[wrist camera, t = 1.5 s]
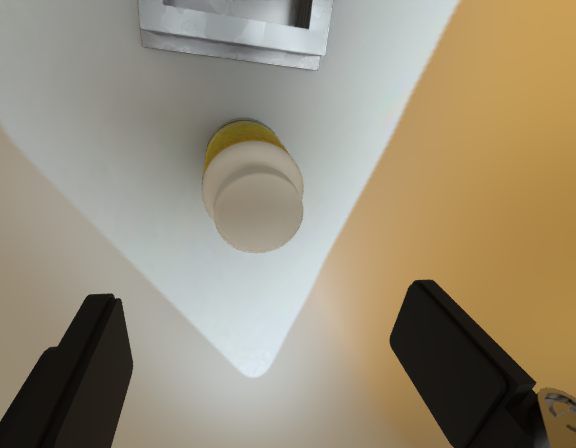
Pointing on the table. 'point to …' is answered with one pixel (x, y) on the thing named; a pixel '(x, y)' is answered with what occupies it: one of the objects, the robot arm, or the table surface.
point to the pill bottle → (252, 187)
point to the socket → (240, 29)
